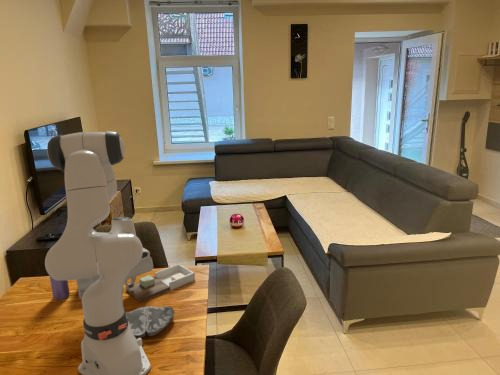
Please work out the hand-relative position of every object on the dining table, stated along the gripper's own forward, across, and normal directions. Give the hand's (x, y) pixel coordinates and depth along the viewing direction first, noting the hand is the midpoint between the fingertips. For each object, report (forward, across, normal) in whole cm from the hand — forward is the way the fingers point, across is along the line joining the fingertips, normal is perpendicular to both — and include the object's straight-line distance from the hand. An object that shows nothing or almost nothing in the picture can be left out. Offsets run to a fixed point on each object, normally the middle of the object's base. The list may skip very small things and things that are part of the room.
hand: (130, 287), depth 151 cm
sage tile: (+1, +7, 0) cm, 7 cm away
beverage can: (+3, -21, +18) cm, 28 cm away
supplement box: (+3, -6, +14) cm, 16 cm away
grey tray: (+3, +19, -3) cm, 19 cm away
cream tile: (+2, +19, -6) cm, 20 cm away
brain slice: (+3, -6, -25) cm, 26 cm away
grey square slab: (+3, +6, -3) cm, 7 cm away
